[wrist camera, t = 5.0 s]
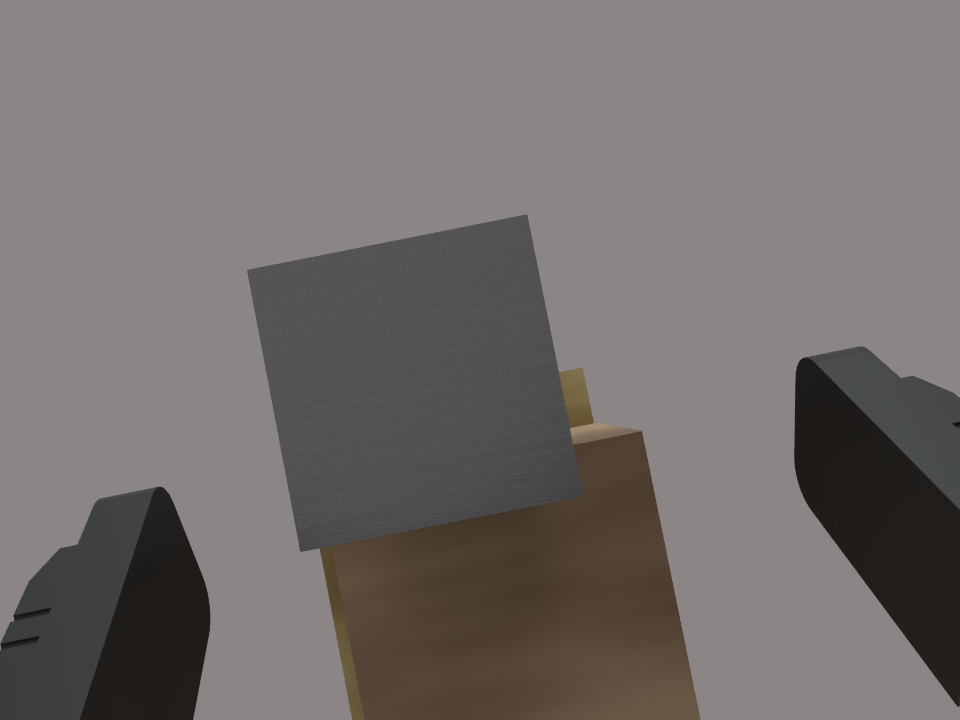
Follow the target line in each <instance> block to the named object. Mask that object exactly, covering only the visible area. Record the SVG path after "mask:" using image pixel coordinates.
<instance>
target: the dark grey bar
mask: <svg viewBox="0 0 960 720" xmlns="http://www.w3.org/2000/svg"><path fill="white" fill-rule="evenodd" d="M247 272H248V278H249V283H250V288H251V293H252V299H253V304H254V309H255V314H256V320H257V325H258V330H259V336H260V340H261V346H262V351H263V356H264V362H265V367H266V373H267V378H268V383H269V388H270V394H271V399H272V404H273V409H274V415H275V420H276V425H277V431H278V436H279V441H280V446H281V451H282V457H283V462H284V467H285V472H286V478H287V483H288V489H289V494H290V499H291V504H292V509H293V515H294V520H295V525H296V531H297V536H298V541H299V547H300V551H301V552H302V551H307V550H312V549H318V548H323V547H328V546H333V545H338V544H343V543H348V542H353V541H358V540H363V539H369V538H374V537H379V536H384V535H389V534H394V533H399V532H404V531H409V530H414V529H419V528H425V527H430V526H435V525H440V524H445V523H450V522H455V521H460V520H465V519H470V518H475V517H481V516H486V515H491V514H496V513H501V512H506V511H511V510H516V509H521V508H526V507H531V506H537V505H542V504H547V503H552V502H557V501H562V500H567V499H572V498H577V497H582V496H583V491H582V486H581V481H580V476H579V471H578V466H577V461H576V456H575V451H574V446H573V441H572V436H571V431H570V426H569V421H568V416H567V411H566V406H565V401H564V396H563V391H562V386H561V381H560V376H559V371H558V367H557V361H556V356H555V352H554V346H553V341H552V336H551V332H550V326H549V321H548V316H547V311H546V306H545V302H544V297H543V291H542V287H541V281H540V277H539V271H538V267H537V261H536V256H535V252H534V246H533V241H532V236H531V231H530V226H529V222H528V216H527V215H522V216H517V217H512V218H507V219H502V220H497V221H492V222H487V223H482V224H477V225H472V226H467V227H462V228H456V229H452V230H446V231H442V232H436V233H432V234H426V235H421V236H416V237H411V238H406V239H401V240H396V241H391V242H387V243H382V244H376V245H371V246H366V247H361V248H356V249H351V250H346V251H341V252H336V253H331V254H326V255H321V256H316V257H311V258H306V259H301V260H295V261H291V262H286V263H280V264H276V265H271V266H265V267H261V268H255V269H250V270H247Z"/></svg>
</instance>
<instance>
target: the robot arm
mask: <svg viewBox="0 0 960 720" xmlns="http://www.w3.org/2000/svg"><path fill="white" fill-rule="evenodd" d="M795 388H796V389H795V447H794V449H795V450H794V460H795V461H794V462H795V470H796V475H797V479H798V483H799V486H800V489H801V492H802V494H803V497H804V499H805V501H806V503H807V504H808V506H809V508H810V509H811V511H812V512H813V513H814V515H815V516H816V517H817V518H818V520H819V521H820V523H822V525H823V527H824V528H825V529H826V531H827V532H828V533H829V534H830V536H831V537H832V539H833V540H834V541H835V543H836V544H837V545H838V547H839V548H840V549H841V551H842V552H843V553H844V555H845V556H846V557H847V559H848V560H849V561H850V563H851V564H852V565H853V567H854V568H855V570H856V571H857V572H858V574H859V575H860V576H861V577H862V579H863V580H864V581H865V583H866V584H867V586H868V587H869V588H870V590H871V591H872V592H873V594H874V595H875V596H876V598H877V599H878V600H879V602H880V603H881V604H882V606H883V607H884V608H885V610H886V611H887V612H888V614H889V615H890V617H891V618H892V619H893V621H894V622H895V623H896V625H897V626H898V627H899V629H900V630H901V631H902V632H903V634H904V635H905V636H906V638H907V639H908V641H909V642H910V643H911V645H912V646H913V647H914V649H915V650H916V651H917V653H918V654H919V655H920V657H921V658H922V659H923V661H924V662H925V664H926V665H927V666H928V668H929V669H930V670H931V672H932V673H933V674H934V676H935V677H936V678H937V680H938V681H939V682H940V684H941V685H942V686H943V688H944V689H945V690H946V692H947V693H948V694H949V696H950V697H951V698H952V700H953V701H954V702H955V704H956V705H957V706H958V707H959V706H960V398H959V397H958V396H957V395H955V394H954V393H952V392H950V391H948V390H945V389H943V388H941V387H938V386H936V385H933V384H931V383H929V382H926V381H924V380H922V379H919V378H917V377H914V376H910V377H905V378H900V377H899V376H898V375H897V374H896V373H894V372H893V371H892V370H891V369H890V368H889V367H888V366H887V365H885V364H884V363H883V362H882V361H881V360H880V359H879V358H877V357H876V356H875V355H874V354H873V353H872V352H871V351H869V350H868V349H867V348H865V347H855V348H850V349H845V350H840V351H835V352H830V353H825V354H820V355H815V356H810V357H806V358H802V359H801V360H800V361H799V363H798V366H797V370H796V382H795ZM209 631H210V605H209V598H208V593H207V588H206V585H205V581H204V579H203V576H202V574H201V571H200V569H199V566H198V563H197V561H196V558H195V556H194V554H193V551H192V549H191V546H190V543H189V541H188V539H187V536H186V534H185V531H184V529H183V526H182V523H181V521H180V518H179V516H178V513H177V511H176V508H175V506H174V503H173V501H172V499H171V497H170V495H169V493H168V492H167V491H166V490H165V489H164V488H163V487H155V488H151V489H146V490H140V491H135V492H131V493H126V494H121V495H116V496H111V497H106V498H101V499H99V500H98V501H97V502H96V503H95V505H94V506H93V509H92V511H91V513H90V516H89V518H88V521H87V523H86V526H85V528H84V530H83V533H82V535H81V538H80V540H79V543H78V545H75V546H69V547H64V548H60V549H59V550H58V551H57V552H56V553H55V554H54V555H53V556H52V558H51V559H50V560H49V561H48V562H47V563H46V564H45V565H44V566H43V567H42V568H41V569H40V571H38V572H37V573H36V575H35V576H34V577H33V578H32V579H31V580H30V581H29V583H28V585H27V587H26V589H25V591H24V594H23V596H22V598H21V600H20V602H19V605H18V607H17V609H16V611H15V613H14V622H10V624H9V626H8V628H7V631H6V633H5V635H4V637H3V639H2V641H1V651H0V720H193V717H194V712H195V707H196V701H197V696H198V690H199V685H200V680H201V674H202V669H203V664H204V659H205V653H206V648H207V642H208V637H209Z"/></svg>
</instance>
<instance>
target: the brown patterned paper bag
mask: <svg viewBox="0 0 960 720" xmlns="http://www.w3.org/2000/svg"><path fill="white" fill-rule="evenodd" d="M559 376H560V381H561V386H562V391H563V396H564V401H565V406H566V411H567V416H568V421H569V426H570V431H571V436H572V441H573V446H574V451H575V456H576V461H577V466H578V471H579V476H580V481H581V486H582V491H583V496H582V497H577V498H572V499H567V500H562V501H557V502H552V503H547V504H542V505H537V506H531V507H526V508H521V509H516V510H511V511H506V512H501V513H496V514H491V515H486V516H481V517H475V518H470V519H465V520H460V521H455V522H450V523H445V524H440V525H435V526H430V527H425V528H419V529H414V530H409V531H404V532H399V533H394V534H389V535H384V536H379V537H374V538H369V539H363V540H358V541H353V542H348V543H343V544H338V545H333V546H328V547H323V548H320V552H321V557H322V562H323V568H324V573H325V578H326V583H327V589H328V594H329V599H330V605H331V610H332V615H333V620H334V626H335V631H336V636H337V641H338V646H339V652H340V657H341V662H342V667H343V673H344V678H345V683H346V689H347V694H348V699H349V704H350V710H351V715H352V720H700V715H699V710H698V705H697V701H696V696H695V691H694V686H693V681H692V676H691V671H690V666H689V662H688V656H687V652H686V647H685V642H684V636H683V632H682V627H681V622H680V617H679V612H678V607H677V602H676V597H675V592H674V587H673V582H672V577H671V572H670V567H669V563H668V558H667V553H666V548H665V543H664V538H663V533H662V528H661V523H660V519H659V514H658V508H657V503H656V499H655V494H654V489H653V484H652V479H651V474H650V469H649V464H648V459H647V454H646V449H645V444H644V439H643V434H642V431H639V430H633V429H628V428H622V427H617V426H612V425H607V424H602V423H596V422H593V417H592V412H591V407H590V402H589V397H588V392H587V387H586V382H585V377H584V372H583V368H579V369H574V370H569V371H564V372H559Z"/></svg>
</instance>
